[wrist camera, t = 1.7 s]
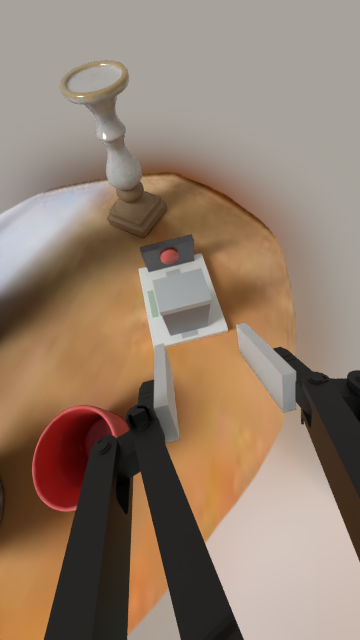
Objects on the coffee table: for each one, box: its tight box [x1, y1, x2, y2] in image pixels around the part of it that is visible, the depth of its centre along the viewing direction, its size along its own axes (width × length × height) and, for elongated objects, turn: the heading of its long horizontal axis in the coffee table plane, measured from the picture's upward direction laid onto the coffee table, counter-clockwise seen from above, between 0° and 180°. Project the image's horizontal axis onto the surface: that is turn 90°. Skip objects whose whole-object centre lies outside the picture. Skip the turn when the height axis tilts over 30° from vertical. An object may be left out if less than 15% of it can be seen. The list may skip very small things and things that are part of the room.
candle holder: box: [60, 61, 167, 238], centre depth 40 cm, size 11×11×24 cm
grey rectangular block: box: [152, 268, 212, 336], centre depth 33 cm, size 5×7×11 cm
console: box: [139, 234, 228, 350], centre depth 38 cm, size 18×14×8 cm
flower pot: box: [32, 405, 129, 511], centre depth 29 cm, size 11×11×10 cm
